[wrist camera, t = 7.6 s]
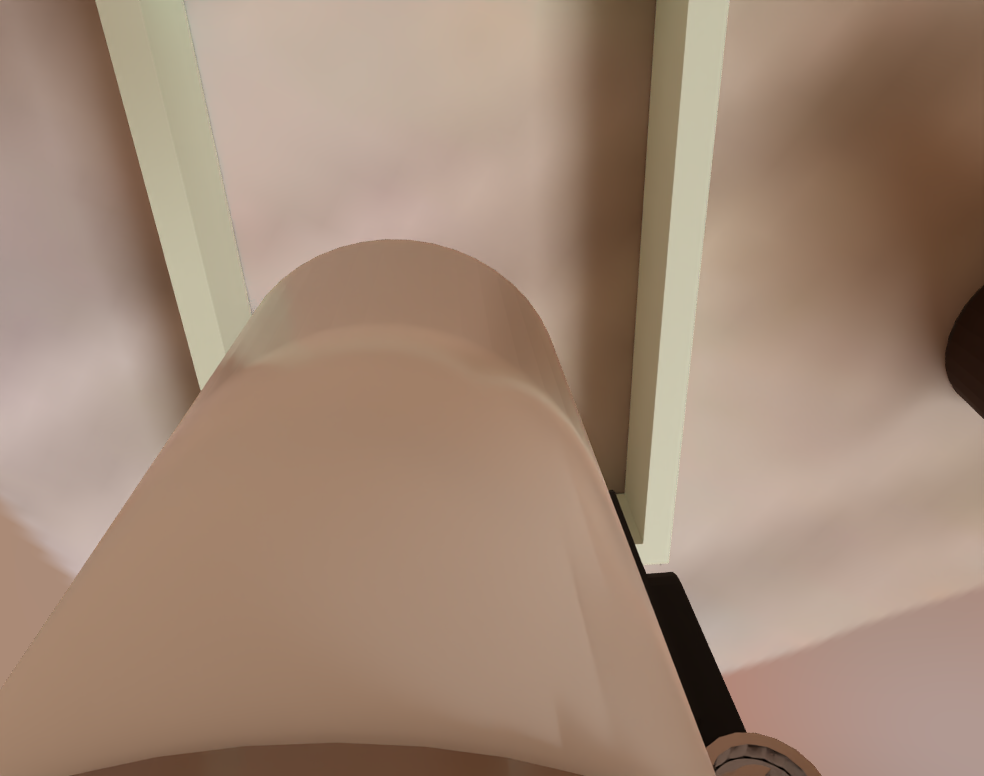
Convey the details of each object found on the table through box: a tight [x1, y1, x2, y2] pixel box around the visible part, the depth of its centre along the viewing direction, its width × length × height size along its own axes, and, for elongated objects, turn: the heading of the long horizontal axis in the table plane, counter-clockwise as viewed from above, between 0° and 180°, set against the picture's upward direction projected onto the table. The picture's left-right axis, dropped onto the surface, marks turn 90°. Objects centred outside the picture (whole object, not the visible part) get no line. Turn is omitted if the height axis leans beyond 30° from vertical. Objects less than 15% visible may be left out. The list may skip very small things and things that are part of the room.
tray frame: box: [95, 0, 730, 565], centre depth 21 cm, size 15×20×3 cm
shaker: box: [0, 239, 716, 776], centre depth 7 cm, size 5×5×9 cm
